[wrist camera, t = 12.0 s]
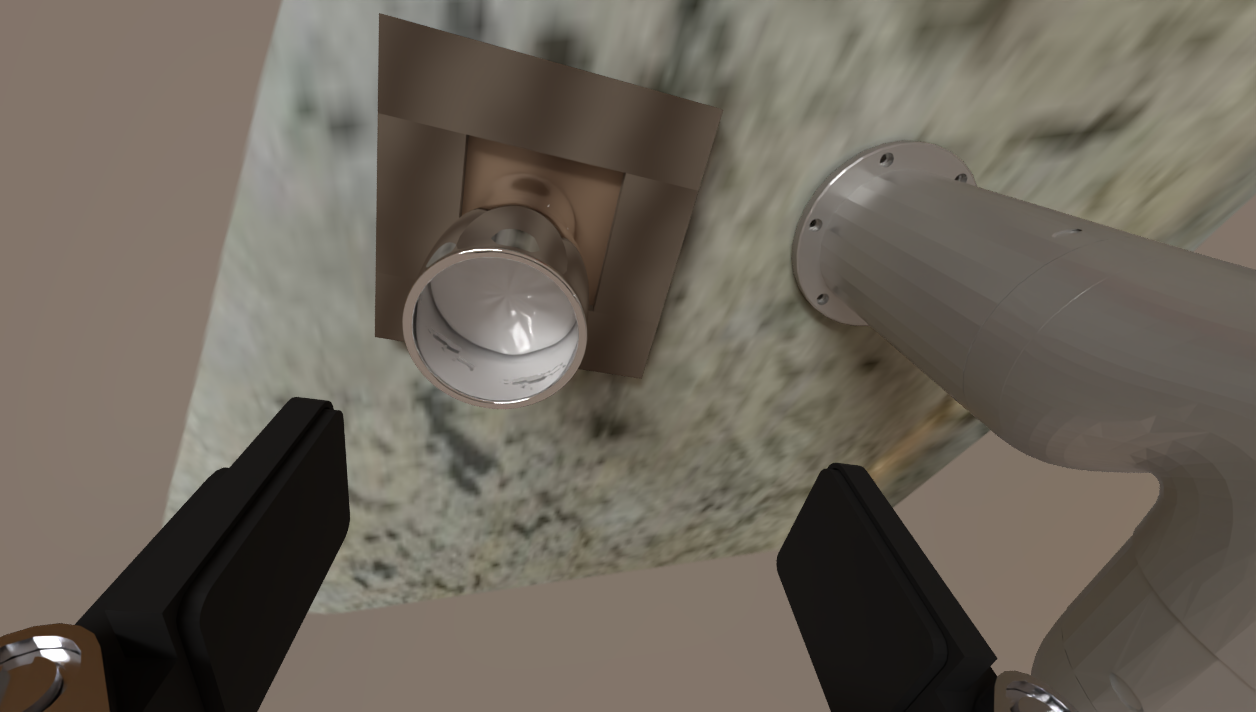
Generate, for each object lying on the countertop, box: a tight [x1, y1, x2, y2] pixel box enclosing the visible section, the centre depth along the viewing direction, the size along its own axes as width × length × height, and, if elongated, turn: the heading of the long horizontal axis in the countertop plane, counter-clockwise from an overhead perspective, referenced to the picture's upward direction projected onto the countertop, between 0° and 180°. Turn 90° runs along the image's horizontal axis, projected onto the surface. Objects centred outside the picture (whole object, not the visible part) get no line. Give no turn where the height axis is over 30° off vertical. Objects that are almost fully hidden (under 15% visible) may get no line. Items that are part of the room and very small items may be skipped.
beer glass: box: [402, 173, 589, 409], centre depth 25 cm, size 7×7×15 cm
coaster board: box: [375, 13, 723, 379], centre depth 32 cm, size 18×18×2 cm
